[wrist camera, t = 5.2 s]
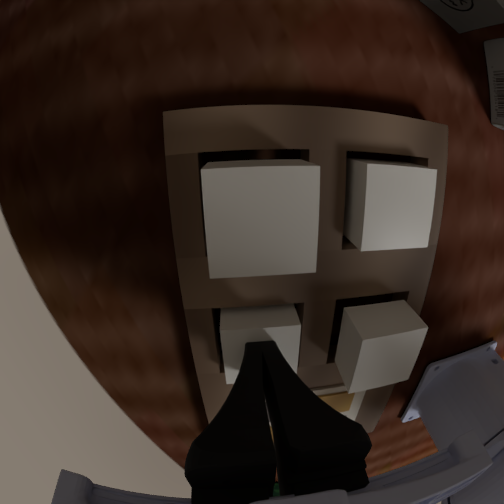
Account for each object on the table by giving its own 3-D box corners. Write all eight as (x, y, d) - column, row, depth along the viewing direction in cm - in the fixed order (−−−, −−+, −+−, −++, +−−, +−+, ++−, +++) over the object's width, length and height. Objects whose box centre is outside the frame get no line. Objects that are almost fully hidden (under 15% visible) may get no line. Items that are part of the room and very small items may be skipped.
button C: (406, 162, 13) (437, 169, 10) (400, 229, 14) (427, 247, 12) (343, 157, 12) (367, 163, 10) (339, 231, 14) (360, 251, 11)
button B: (290, 295, 15) (301, 324, 13) (288, 347, 16) (296, 378, 14) (221, 299, 15) (219, 330, 12) (226, 351, 16) (226, 384, 14)
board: (429, 124, 12) (452, 125, 10) (367, 418, 21) (374, 434, 19) (170, 114, 11) (160, 110, 10) (216, 437, 20) (216, 456, 18)
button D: (300, 159, 11) (320, 166, 8) (299, 245, 12) (315, 272, 10) (207, 162, 11) (200, 169, 8) (213, 249, 12) (209, 278, 10)
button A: (404, 299, 14) (428, 327, 11) (389, 350, 15) (408, 379, 13) (343, 307, 14) (362, 340, 11) (334, 360, 15) (348, 393, 13)
